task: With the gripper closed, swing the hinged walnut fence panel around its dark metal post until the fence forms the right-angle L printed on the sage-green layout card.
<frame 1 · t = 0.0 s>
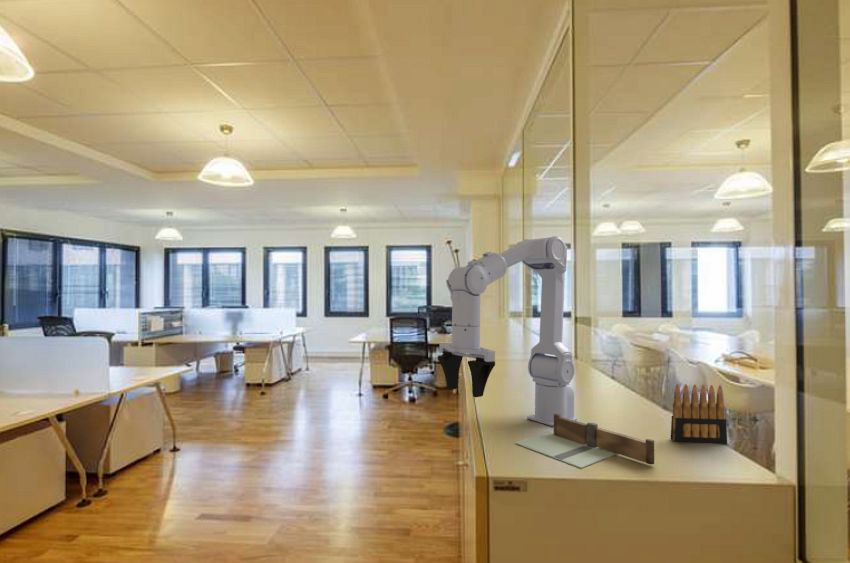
hand: (464, 392, 86), 10 cm above the table, tool pointing down, fingers open, 7 cm apart
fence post: (592, 446, 85), resting on layout card
ammunition clip: (698, 442, 90), on the table
fence gate: (624, 443, 80), point 3 cm above the table, hinge at 0.0°
layout card: (570, 446, 85), on the table
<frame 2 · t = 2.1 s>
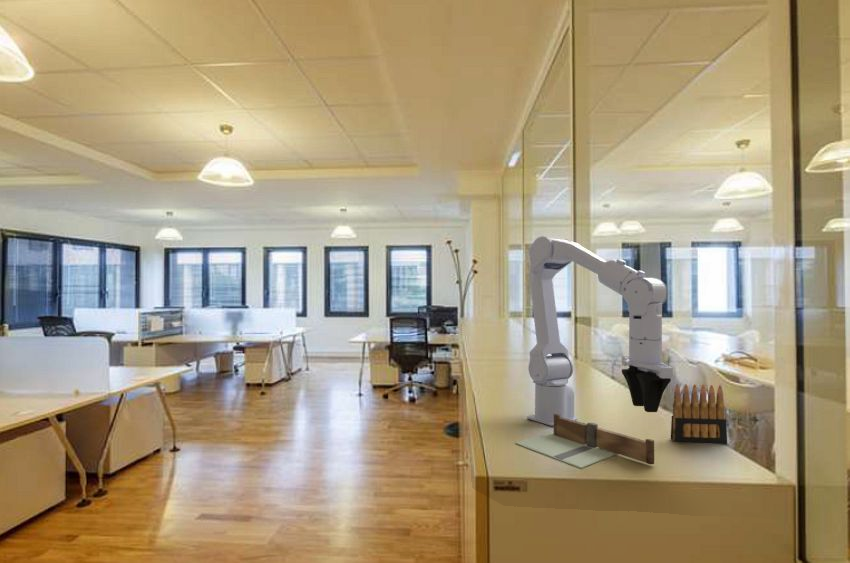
hand: (644, 408, 83), 8 cm above the table, tool pointing down, fingers open, 4 cm apart
nothing on the table moved.
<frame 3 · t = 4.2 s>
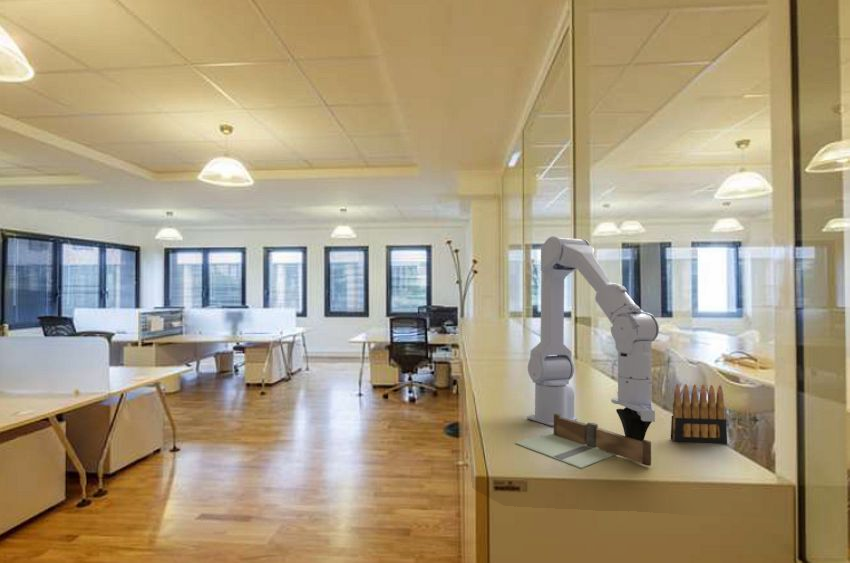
hand: (634, 449, 80), 1 cm above the table, tool pointing down, fingers closed
fence gate: (622, 444, 80), point 3 cm above the table, hinge at 5.6°, touching gripper
everything else where it was.
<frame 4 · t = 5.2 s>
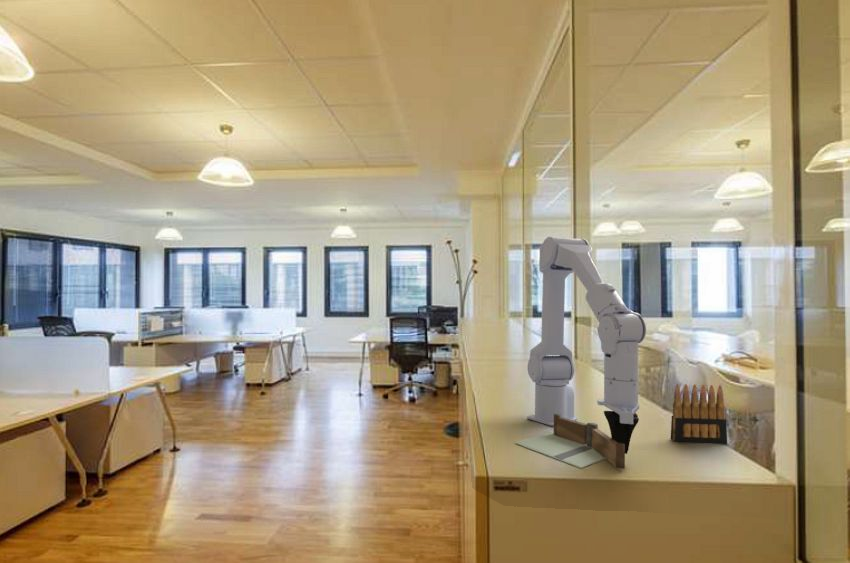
hand: (620, 452, 79), 1 cm above the table, tool pointing down, fingers closed, pressing on fence gate
fence gate: (607, 446, 79), point 3 cm above the table, hinge at 34.7°, touching gripper
everything else where it was.
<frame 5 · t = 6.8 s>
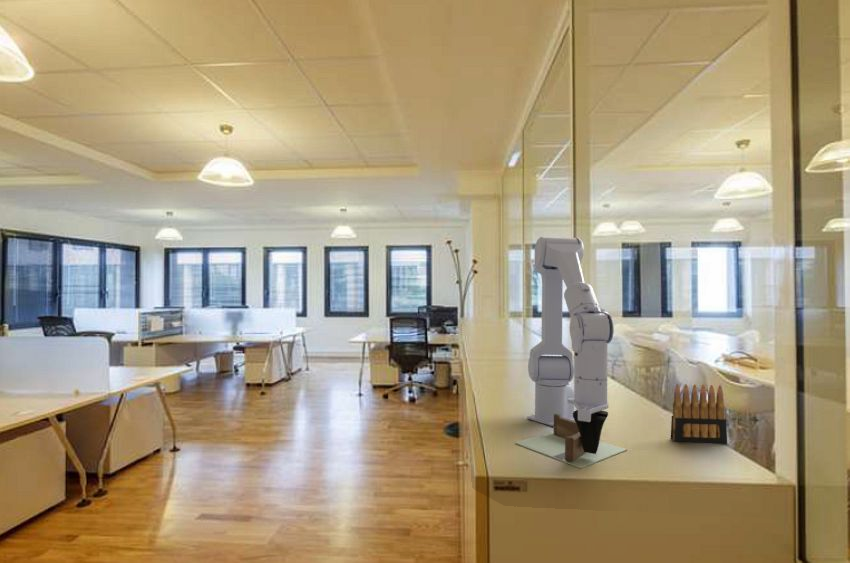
hand: (590, 451, 79), 1 cm above the table, tool pointing down, fingers closed, pressing on fence gate
fence gate: (579, 442, 81), point 3 cm above the table, hinge at 78.6°, touching gripper
everything else where it was.
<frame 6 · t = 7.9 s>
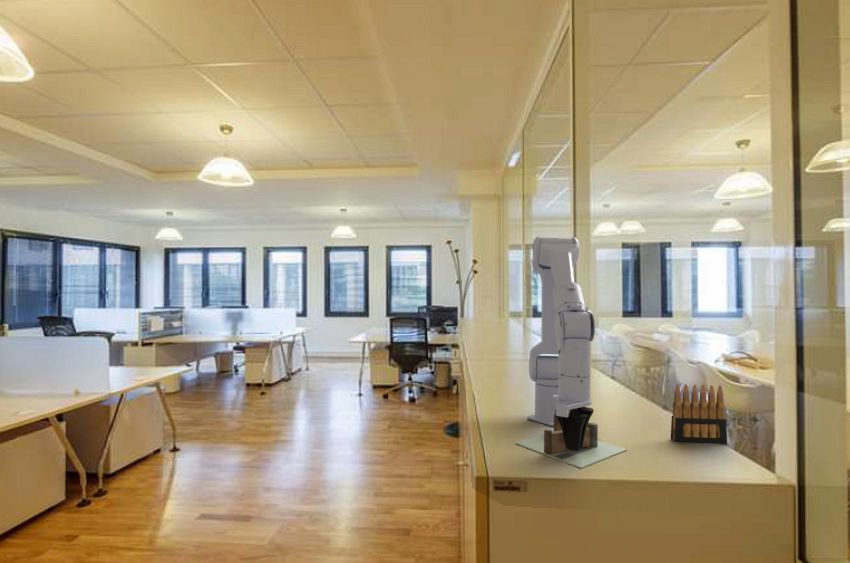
hand: (574, 447, 80), 2 cm above the table, tool pointing down, fingers closed
fence gate: (566, 438, 83), point 3 cm above the table, hinge at 102.2°, touching gripper
everything else where it was.
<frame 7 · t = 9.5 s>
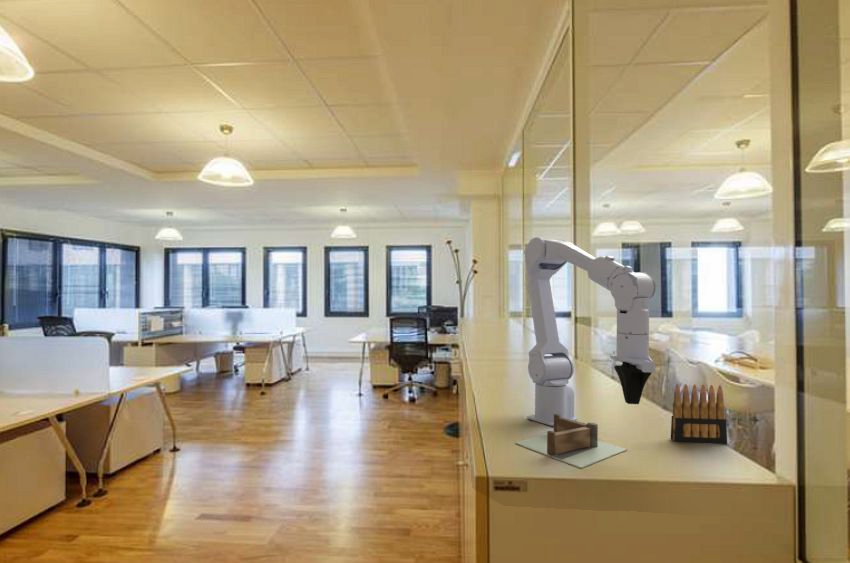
hand: (632, 403, 83), 9 cm above the table, tool pointing down, fingers closed
fence gate: (568, 439, 82), point 3 cm above the table, hinge at 97.9°
everything else where it was.
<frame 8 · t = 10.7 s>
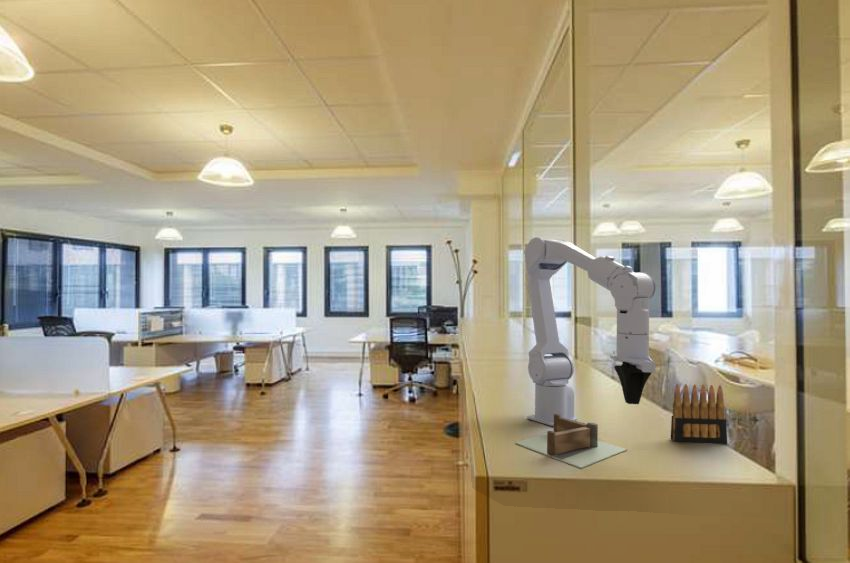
hand: (632, 403, 83), 9 cm above the table, tool pointing down, fingers closed
nothing on the table moved.
at the end: fence gate at +98° (first picture: +0°) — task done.
